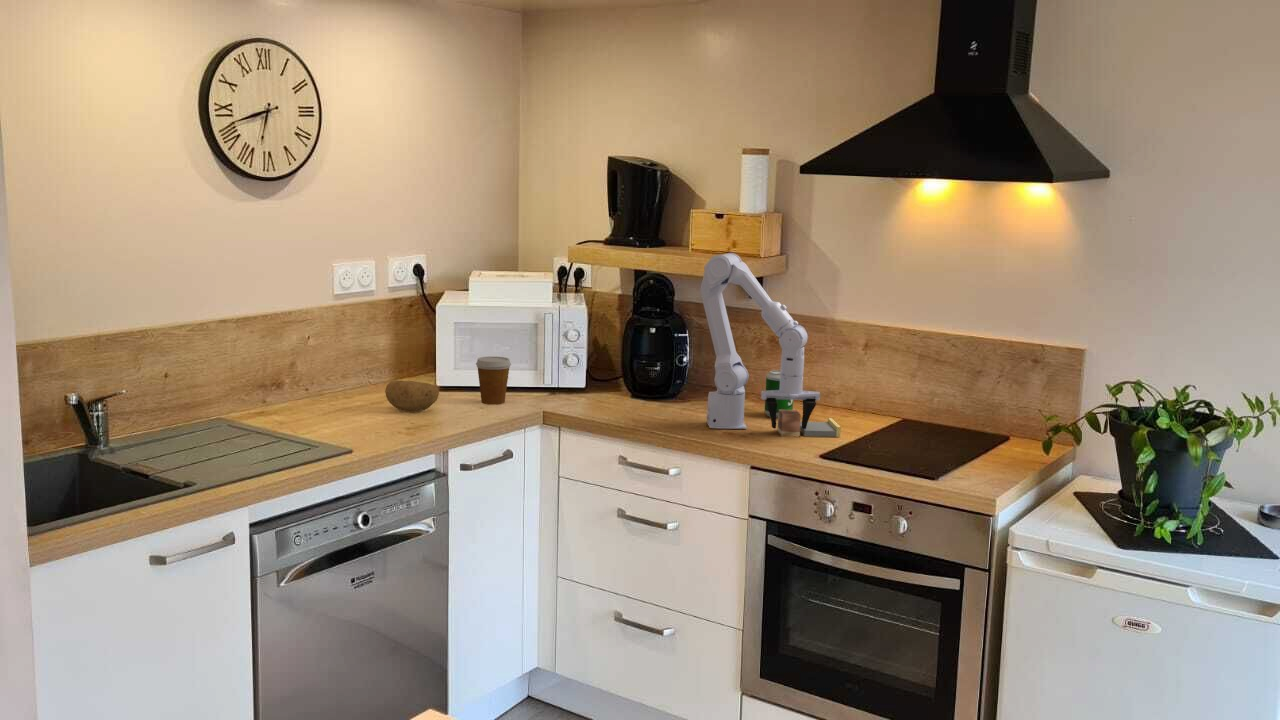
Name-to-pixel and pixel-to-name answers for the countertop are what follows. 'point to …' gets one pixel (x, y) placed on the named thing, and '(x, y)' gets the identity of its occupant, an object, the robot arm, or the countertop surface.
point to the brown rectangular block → (789, 423)
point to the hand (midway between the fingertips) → (788, 427)
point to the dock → (821, 429)
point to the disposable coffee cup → (493, 378)
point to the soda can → (774, 384)
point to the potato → (411, 395)
